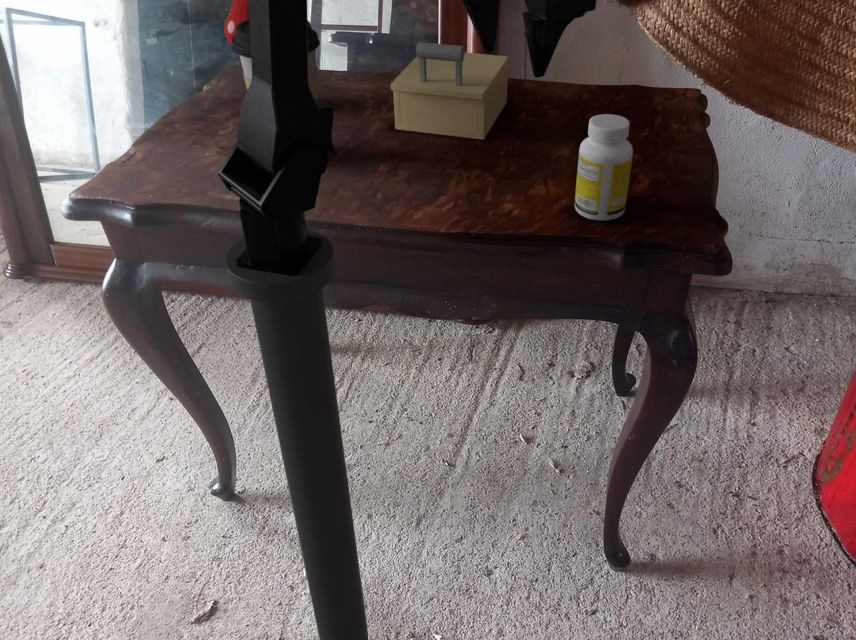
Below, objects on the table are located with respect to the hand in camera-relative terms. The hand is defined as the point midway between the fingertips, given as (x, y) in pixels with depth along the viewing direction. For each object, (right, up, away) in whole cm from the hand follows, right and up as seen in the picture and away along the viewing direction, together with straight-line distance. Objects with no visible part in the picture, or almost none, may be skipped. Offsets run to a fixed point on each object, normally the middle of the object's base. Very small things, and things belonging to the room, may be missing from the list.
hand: (513, 63), depth 85 cm
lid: (-7, +4, +15) cm, 17 cm away
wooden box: (-7, 0, +19) cm, 20 cm away
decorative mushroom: (-31, +1, +21) cm, 37 cm away
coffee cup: (-26, -8, +9) cm, 28 cm away
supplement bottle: (+9, -16, -1) cm, 18 cm away
